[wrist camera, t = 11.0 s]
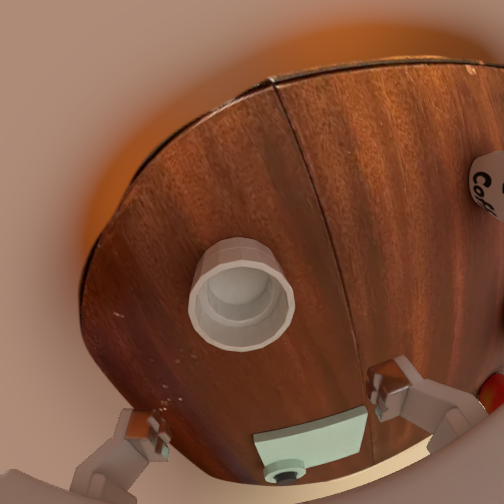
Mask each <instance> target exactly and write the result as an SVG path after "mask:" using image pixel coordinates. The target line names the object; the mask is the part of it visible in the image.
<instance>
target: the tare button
mask: <svg viewBox="0 0 504 504" xmlns="http://www.w3.org/2000/svg"><path fill="white" fill-rule="evenodd" d="M275 477H276V482H277V485H280V486H284V485H290V484H293V483H295V482H296V481H297V478H296V474H295V472H294V471H287V472H282V473H279V474H277V475H275Z"/></svg>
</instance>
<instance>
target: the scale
mask: <svg viewBox="0 0 504 504" xmlns="http://www.w3.org/2000/svg"><path fill="white" fill-rule="evenodd" d="M367 414H368V412H367V410H366V408H365V406H364V405H363V406H360V407H357V408H354V409H351V410H349V411H346V412H343V413H339V414H336V415H333V416H330V417H326V418H323V419H319V420H316V421H312V422H308V423H305V424H301V425H297V426H292V427H288V428H283V429H279V430H274V431H269V432H263V433H258V434H253V438H254V444H255V446H256V448H257V450H258V453H259V455H260V457H261V459H262V462H263V464H264V466H265V468H264V469H263V471H264V477H265V480H266V481H268V482H272V483H277V482H276V477H275V475H277V474H279V473H282V472H287V471H294V472H295V474H296V478H297V479H298V478H300V477H302V476H303V475H304V474H305V473H306V470H305V468H308V467H312V466H316V465H320V464H323V463H327V462H330V461H334V460H337V459H340V458H343V457H346V456H349V455H352V454H355V453H358V452H359V449H360V445H361V441H362V437H363V433H364V429H365V424H366V419H367Z"/></svg>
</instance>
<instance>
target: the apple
mask: <svg viewBox="0 0 504 504" xmlns="http://www.w3.org/2000/svg"><path fill="white" fill-rule="evenodd" d="M479 401H480V402H481V404H482V405H483V406H484V408H485V410H486V412H487V413H488V414H489V415H490V414H491V413H492V412H494V411H495V410H496V409H497V408H498V407H500V406H501V405H502V404H503V403H504V375H503V374H494V375H492V376H491V377H490V378H489V379H488V380H487V381H486V382H485V383H484V384H483V386H482V387H481V390H480V397H479Z"/></svg>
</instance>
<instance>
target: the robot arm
mask: <svg viewBox="0 0 504 504" xmlns="http://www.w3.org/2000/svg"><path fill="white" fill-rule="evenodd" d="M367 375H368V377H369V379H368V380H367V381H366V393H367V396H368V398H369V400H370V402H371V403H372V404H375V405H376V407H375V412H376V414H377V416H378V418H379V420H380V422H384V421H386V420H389V419H391V418H394V417H396V416H399V415H400V416H401V417H403V418H405V419H406V420H408V421H410V422H411V423H413V424H415V425H417V426H419V427H420V428H422V429H424V430H426V431H428V432H429V433H431V434H433V436H432V438H431V439H430V441H429V443H428V445H427V449H428V451H429V452H430V455H428V456H426V457H425V458H423V459H421V460H419V461H417V462H415V463H413V464H411V465H409V466H407V467H405V468H403V469H401V470H399V471H396V472H394V473H392V474H390V475H387V476H385V477H383V478H380V479H378V480H375V481H372V482H370V483H367V484H365V485H362V486H359V487H356V488H353V489H350V490H347V491H344V492H341V493H337V494H334V495H330V496H327V497H323V498H319V499H315V500H311V501H306V502H302V503H297V504H504V403H503V404H502V405H501V406H500V407H498V408H497V409H496V410H495V411H494V412H492V413H491V414H490V415H489V414H488V413H487V412H486V410H485V409H484V408H483V407H482V405H481V404H480V403H479V401H478V400H477V399H476V398H475V396H474V395H473V394H470V393H467V392H464V391H461V390H458V389H455V388H452V387H449V386H446V385H443V384H440V383H438V382H435V381H432V380H429V379H425V380H424V379H423V378H422V377H421V376H420V374H419V373H418V372H417V370H416V369H415V368H414V367H413V365H412V364H411V363H410V361H409V360H408V359H407V358H406V356H404V355H400V356H398V357H395V358H393V359H390V360H387V361H385V362H382V363H380V364H377V365H374V366H372V367H369V368H368V370H367ZM161 415H162V413H161V412H160V411H159V410H158V409H123V410H122V411H121V413H120V417H119V420H118V423H117V426H116V429H115V432H114V436H113V438H110V439H109V440H107V441H106V442H105V443H104V444H103V445H102V446H101V447H99V448H98V449H97V450H96V451H95V452H94V453H93V454H92V455H90V456H89V457H88V458H87V459H86V460H85V461H84V462H82V463H81V464H80V465H79V466H78V467H77V468H76V470H75V473H74V476H73V480H72V483H71V486H70V490H69V491H68V490H65V489H62V488H59V487H57V486H54V485H51V484H49V483H46V482H43V481H41V480H38V479H36V478H34V477H32V476H29V475H27V474H25V473H23V472H21V471H19V470H17V469H10V470H8V471H6V472H5V473H3V474H1V475H0V504H137V499H136V497H135V496H133V495H132V494H130V493H128V492H127V490H128V489H129V488H130V487H131V486H132V484H133V483H134V482H135V480H136V479H137V478H138V477H139V476H140V474H141V473H142V472H143V470H144V469H145V468H146V467H147V465H148V464H149V462H168V457H169V448H168V446H167V444H168V443H169V442H170V441H171V428H170V426H169V423H168V422H167V421H166V420H165V419H163V418H161Z"/></svg>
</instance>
